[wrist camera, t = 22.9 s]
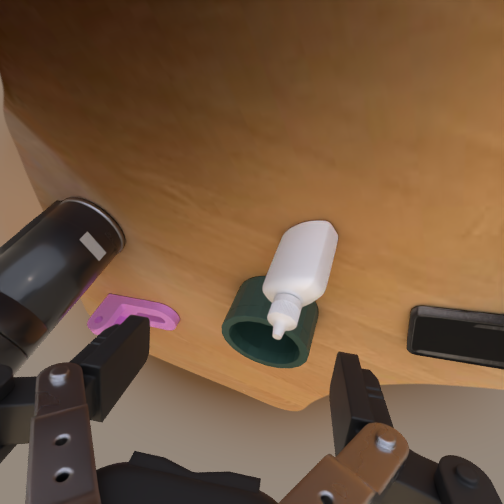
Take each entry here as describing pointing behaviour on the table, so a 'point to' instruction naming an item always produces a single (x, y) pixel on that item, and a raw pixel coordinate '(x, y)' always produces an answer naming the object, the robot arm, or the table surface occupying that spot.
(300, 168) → the table surface
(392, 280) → the table surface
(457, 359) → the phone
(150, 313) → the bracket
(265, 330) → the green short hollow cylinder
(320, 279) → the eye dropper bottle
